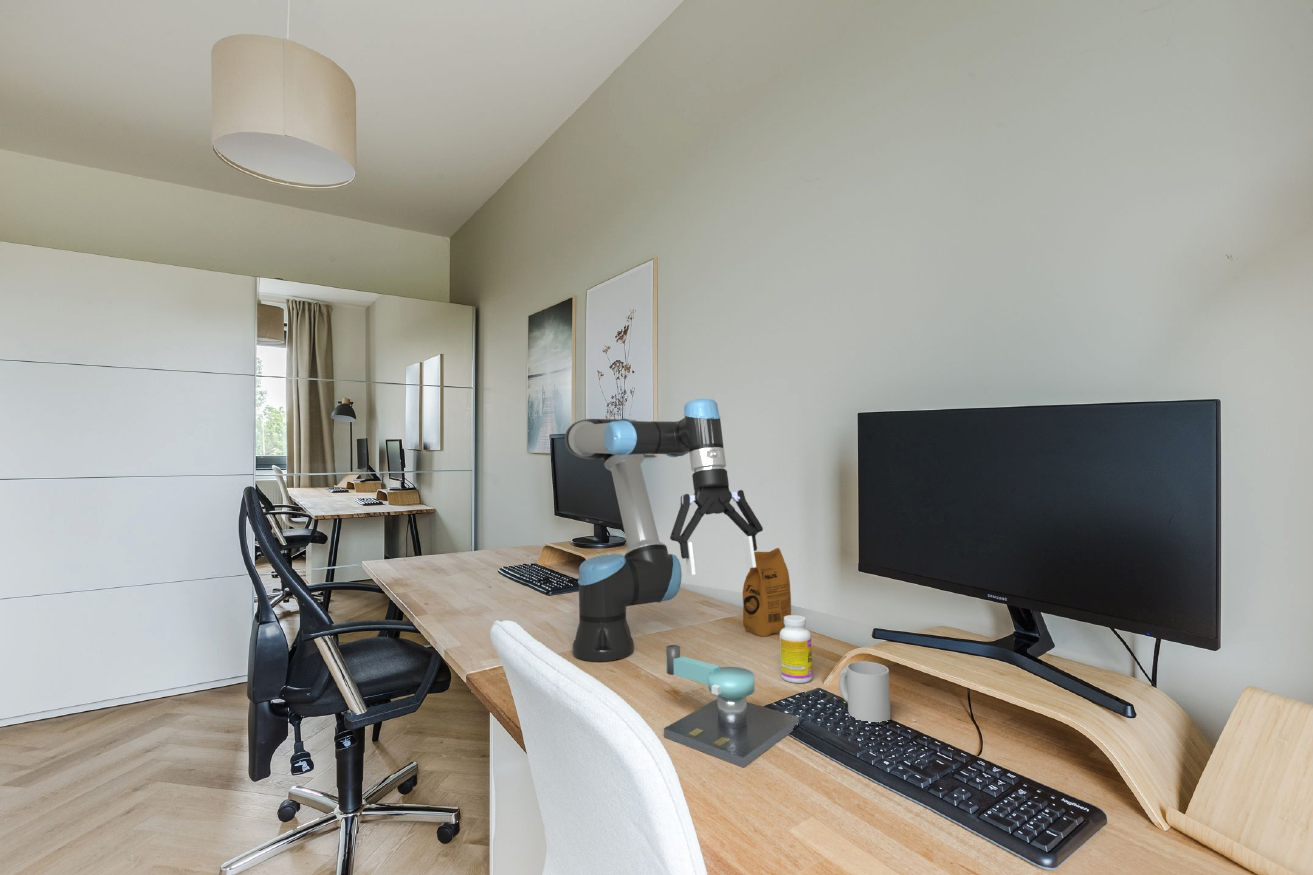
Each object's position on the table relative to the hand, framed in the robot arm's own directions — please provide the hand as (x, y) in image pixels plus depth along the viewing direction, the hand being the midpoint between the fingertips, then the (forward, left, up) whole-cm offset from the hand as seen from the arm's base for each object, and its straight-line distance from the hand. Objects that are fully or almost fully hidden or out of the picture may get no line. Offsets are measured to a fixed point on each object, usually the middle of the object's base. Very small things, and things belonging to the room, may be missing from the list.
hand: (722, 571), depth 122 cm
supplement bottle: (+9, +14, -24) cm, 29 cm away
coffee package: (-14, +41, -24) cm, 50 cm away
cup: (+27, +5, -24) cm, 36 cm away
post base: (+12, -15, -24) cm, 31 cm away
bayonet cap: (+7, -15, -17) cm, 23 cm away
